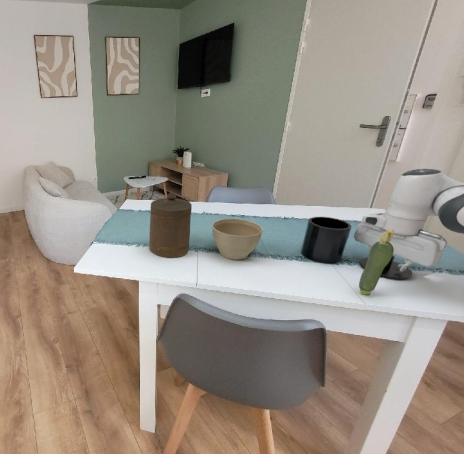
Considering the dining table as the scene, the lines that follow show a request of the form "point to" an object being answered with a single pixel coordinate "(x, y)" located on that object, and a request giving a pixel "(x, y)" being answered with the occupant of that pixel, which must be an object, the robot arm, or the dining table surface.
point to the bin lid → (390, 269)
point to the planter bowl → (236, 237)
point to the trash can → (325, 239)
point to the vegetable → (376, 262)
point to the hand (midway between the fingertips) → (386, 264)
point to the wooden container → (170, 226)
